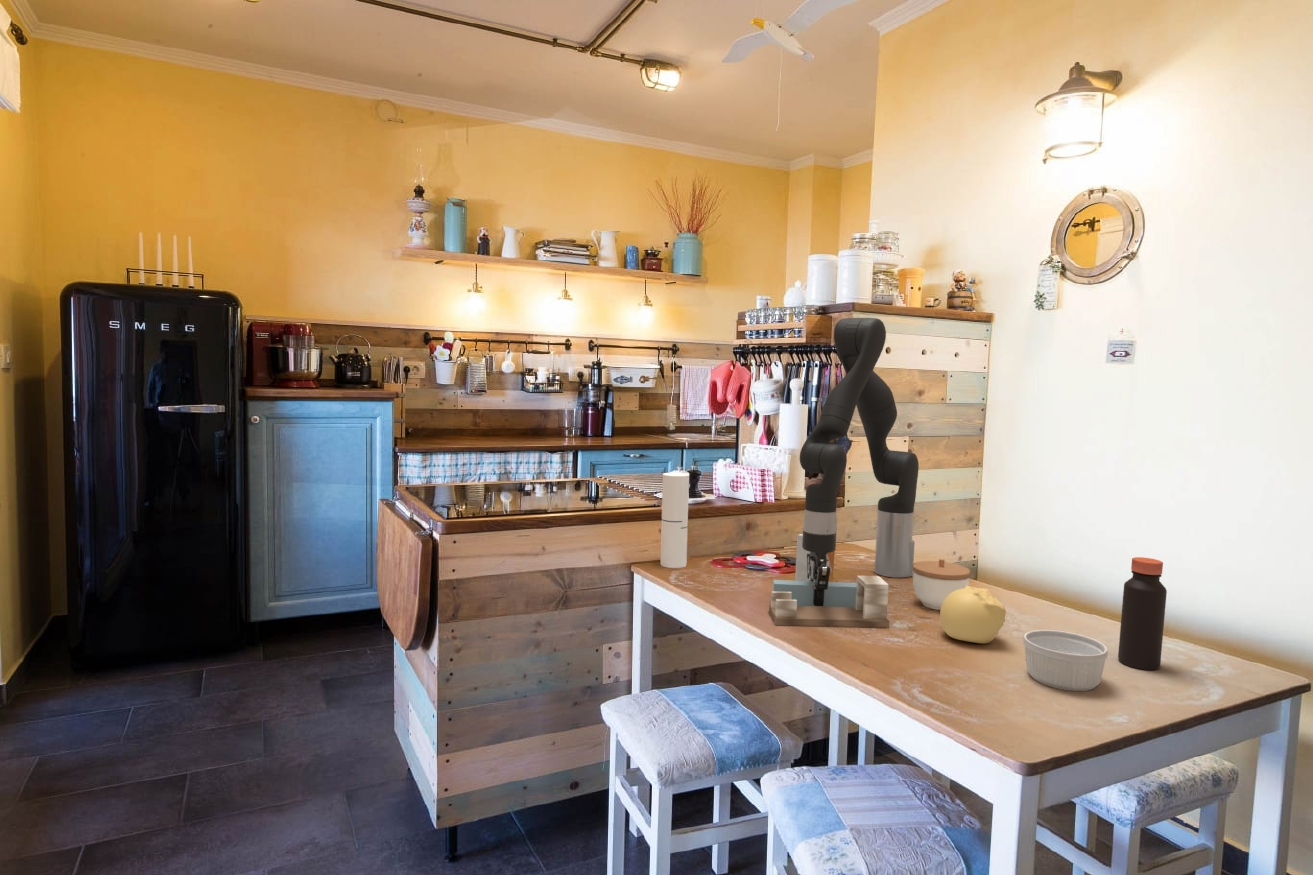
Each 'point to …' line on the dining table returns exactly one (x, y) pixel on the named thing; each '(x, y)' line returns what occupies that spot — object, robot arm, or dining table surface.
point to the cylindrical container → (674, 520)
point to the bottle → (1143, 615)
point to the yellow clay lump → (972, 615)
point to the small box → (802, 562)
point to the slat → (833, 596)
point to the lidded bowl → (938, 581)
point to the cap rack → (836, 608)
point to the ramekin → (1064, 659)
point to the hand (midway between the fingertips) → (816, 602)
